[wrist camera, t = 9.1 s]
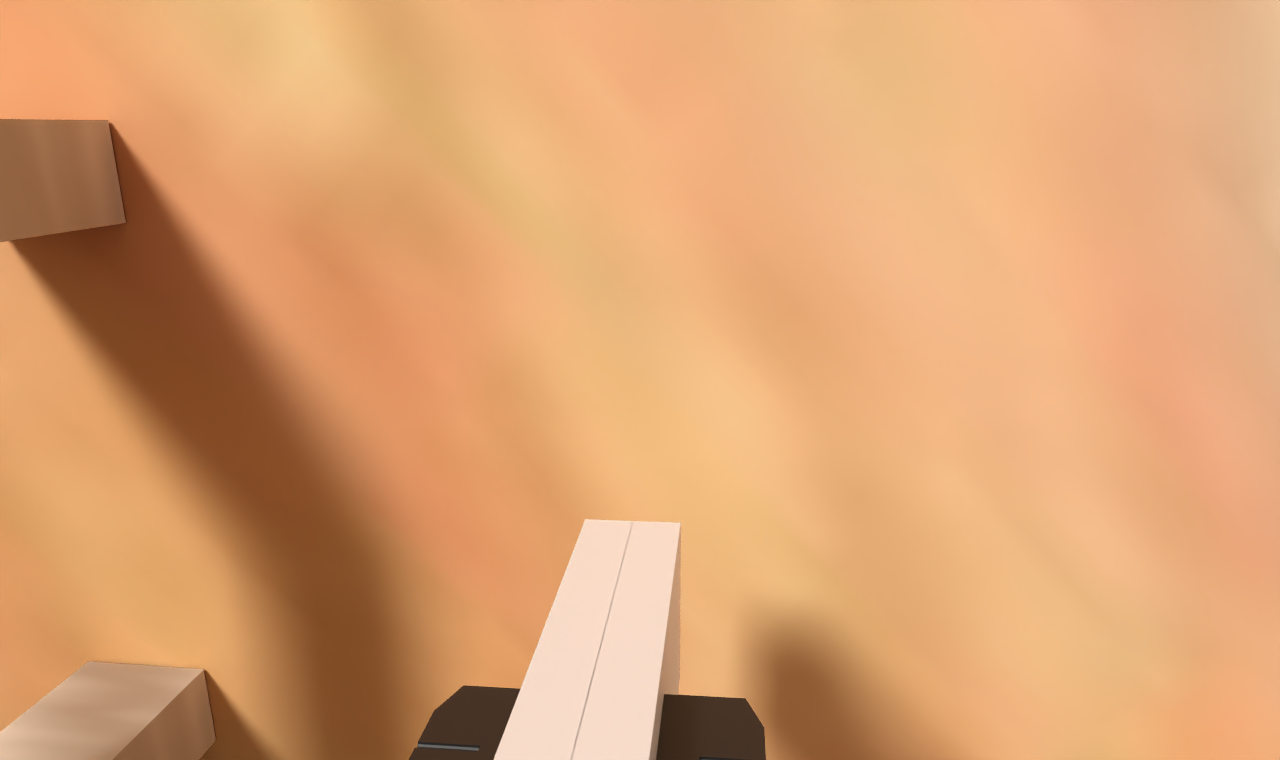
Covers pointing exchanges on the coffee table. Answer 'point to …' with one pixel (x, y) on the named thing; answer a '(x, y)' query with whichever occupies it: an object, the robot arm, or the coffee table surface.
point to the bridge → (98, 691)
